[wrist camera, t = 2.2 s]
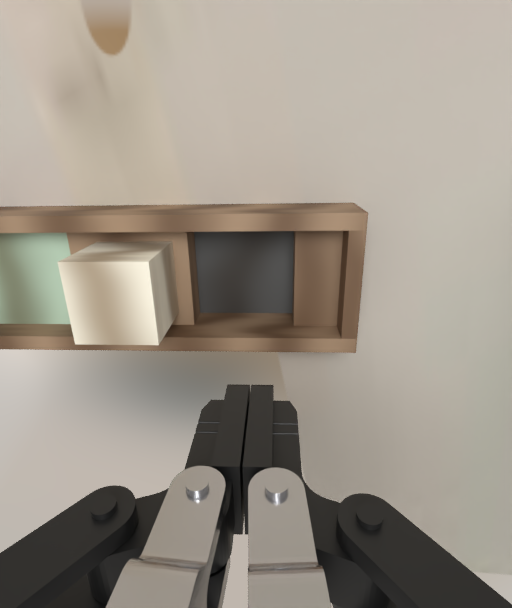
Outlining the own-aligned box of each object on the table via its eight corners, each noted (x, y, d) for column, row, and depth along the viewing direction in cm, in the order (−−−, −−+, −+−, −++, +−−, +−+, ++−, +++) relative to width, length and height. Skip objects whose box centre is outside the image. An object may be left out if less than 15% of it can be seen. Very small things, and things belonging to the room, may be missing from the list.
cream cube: (172, 241, 25) (148, 261, 21) (179, 311, 27) (158, 345, 22) (97, 241, 25) (57, 261, 21) (109, 311, 27) (75, 344, 23)
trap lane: (353, 202, 26) (368, 212, 22) (344, 323, 29) (355, 352, 25) (-147, 208, 28) (-221, 218, 24) (-103, 321, 31) (-161, 347, 27)
